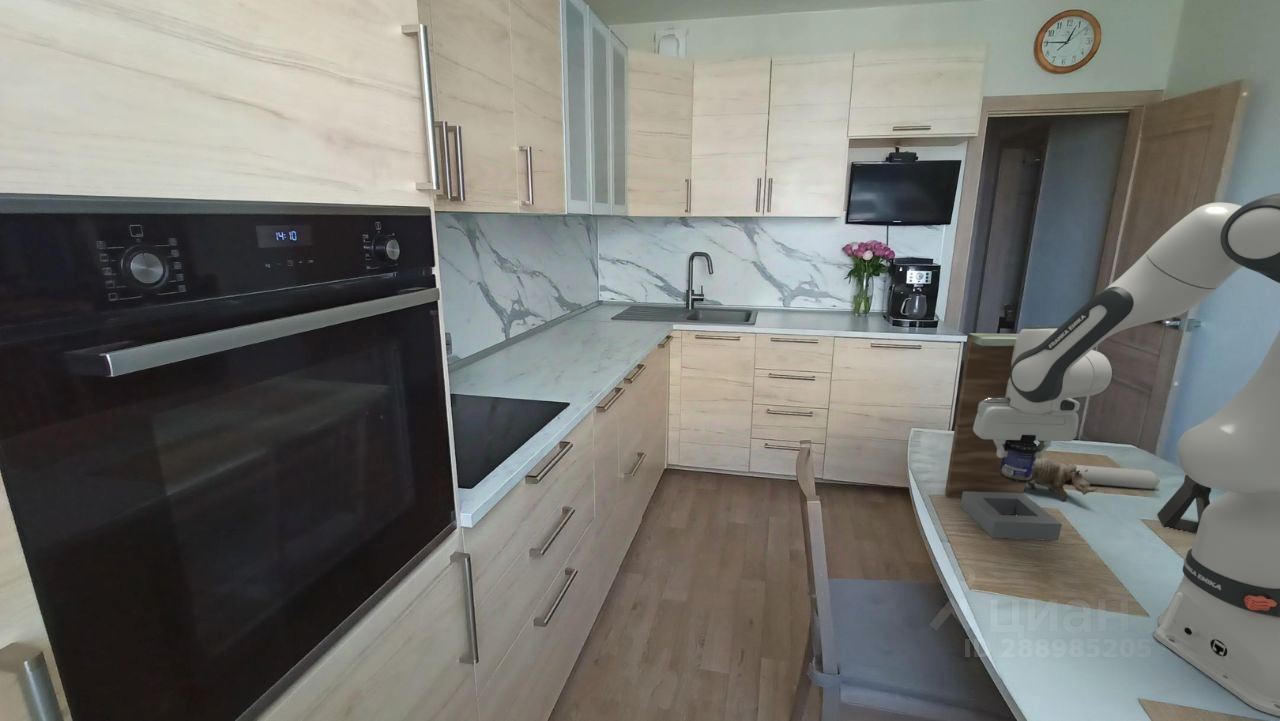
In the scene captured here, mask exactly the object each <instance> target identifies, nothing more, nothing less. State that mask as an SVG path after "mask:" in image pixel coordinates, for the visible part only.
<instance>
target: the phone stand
mask: <svg viewBox="0 0 1280 721" xmlns="http://www.w3.org/2000/svg"><path fill="white" fill-rule="evenodd" d="M1183 478H1184V481H1183V484H1182V485H1181V486H1180V487H1179V488H1178V489H1177V491H1176V492H1175V493H1174V494H1173V495H1172V496H1171V497H1170V499H1169V500H1168V501H1166V503H1165V504H1164V506H1163V507H1161V509H1160V510H1159V511H1158V512H1157V514H1156V515H1157V517H1158V519H1159V520H1160V523H1161V524H1162V525H1163V527H1164V528H1166V527H1169V528H1168V529H1171V528H1173V529H1172V530H1175V529H1177V531H1180V530H1183V531H1182V532H1185V531H1188V532H1187V533H1191V532H1194V533H1193V534H1195V533H1197V530H1198V526H1199V523H1200V519H1201V516H1202V513H1203V511H1204V510H1205V508H1206V507H1207V506H1208V505H1209V504H1210V503H1211V502H1210V495H1211V492H1212V488H1209V487H1206V486H1203V485H1201V484H1199V483H1197V482H1195V481H1194V480H1192V479H1191V478H1190V477H1189V476H1188V475H1187V474H1186V475H1184V477H1183ZM1194 501H1195V503H1196V504H1195V506H1196V512H1197V513H1196V514H1197V521H1192V520H1189V519H1183V516H1184V515H1185V513H1186V512H1187V511H1188V509H1189V508H1190V506H1192V503H1193V502H1194Z"/></svg>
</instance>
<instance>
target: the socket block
mask: <svg viewBox="0 0 1280 721" xmlns="http://www.w3.org/2000/svg"><path fill="white" fill-rule="evenodd" d="M960 508H962V510H963V511H964V512H965V513H966V514H967V515H968V516H969V517H970V518H972V519H973V521H974V522H975V523H976V524H977V525H979V527H980V528H981V529H982V530H983V531H984V532H985V533H986V534H987V535H988V536H989V537H990V539H1003V540H1004V538H1011V539H1010V540H1017V539H1016V538H1019V539H1018V540H1032V539H1040V540H1039V541H1041V539H1044V540H1043V541H1059V540H1060V535H1061V530H1062V525H1063V523H1061V522H1060V521H1059V520H1058V519H1056V518H1055V516H1052V515H1051V514H1050V513H1049V512H1048V511H1046V510H1045V509H1044V508H1043V507H1041V506H1040V505H1038V503H1036V502H1035V501H1034V500H1033V499H1031V498H1030V497H1029V496H1028V495H1026V494H1025V493H1024V492H1023V493H1001V492H969V491H963V494H962V498H961V500H960ZM1016 515H1017V516H1016Z"/></svg>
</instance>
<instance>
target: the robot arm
mask: <svg viewBox="0 0 1280 721" xmlns="http://www.w3.org/2000/svg"><path fill="white" fill-rule="evenodd" d="M1243 267H1244V268H1245V269H1248V270H1251V271H1253V272H1256V273H1258V274H1260V275H1262V276H1265V277H1267V278H1269V279H1270V280H1272V281H1274V282H1276V283H1277V284H1280V192H1278V193H1272V194H1269V195H1264V196H1263V197H1259V198H1256V199H1254V200H1252V201H1249V202H1248V203H1246V204H1244V205H1240V204H1237V203H1231V202H1221V201H1219V202H1210V203H1206V204H1203V205H1201V206H1198V207H1197V208H1195V209H1194V210H1192V211H1191V212H1190V213H1189V214H1187V215H1186V216H1184V217H1183V218H1181V219H1180V220H1179V221H1178V222H1176V224H1174V225H1173V226H1172V227H1170V228H1169V230H1167V231H1166V232H1165V233H1164V234H1163V235H1162V236H1160V238H1158V239H1157V240H1156V241H1155V242H1154V244H1153V245H1151V247H1150V248H1149V249H1148V250H1147V251H1145V253H1144V254H1143V255H1142V256H1141V257H1139V259H1138V260H1137V261H1135V263H1134V264H1132V266H1130V267H1129V269H1127V270H1126V271H1125V272H1124V273H1123V274H1122V275H1121V276H1120V277H1118V278H1117V279H1116V280H1115V281H1114V282H1112V283H1111V284H1110V285H1108V286H1107V287H1106V288H1104V289H1103V290H1102V291H1100V292H1099V293H1098V294H1096V295H1095V296H1094V297H1092V298H1091V299H1090V300H1089V301H1087V302H1086V303H1085V304H1083V305H1082V306H1081V307H1080V308H1079V309H1078V310H1076V311H1075V312H1074V314H1072V315H1071V316H1070V317H1069V318H1067V320H1066V321H1064V322H1063V323H1062V324H1061V325H1060V326H1058V325H1035V326H1034V325H1031V326H1030V325H1029V326H1026V327H1024V328H1022V329H1021V330H1020V332H1019V333H1018V334H1019V335H1018V337H1017V340H1016V343H1015V346H1014V350H1013V355H1012V361H1011V366H1012V368H1011V373H1010V378H1009V380H1008V384H1007V390H1006V396H1005V398H992V397H989V398H986V399H985V400H983V401H981V402H980V403H979V405H978V413H977V416H976V419H975V422H974V426H973V431H974V433H975V434H976V435H977V436H978V437H980V438H981V439H993V441H994V443H995V445H996V447H997V453H996V454H997V456H998V457H999V458H1007V457H1008V452H1009V451H1007V450H1006V449H1005V448H1003V445H1002V444H1005V440H1020V439H1021V436H1022V435H1036V440H1035V441H1034V442H1036V441H1037V442H1038V444H1037V447H1038V451H1037V455H1036V459H1042V458H1043V456H1044V452H1046V451H1047V449H1048V448H1049V447H1051V445H1052V444H1051V443H1052V442H1072V441H1074V439H1075V438H1077V434H1078V427H1079V420H1080V419H1079V415H1078V413H1077V412H1078V411H1079V409H1080V406H1081V404H1080V402H1079V401H1077V400H1076V399H1074V398H1083V397H1091V396H1094V395H1095V396H1096V395H1100V394H1102V393H1104V392H1105V391H1106V390H1108V388H1109V387H1110V385H1111V383H1112V380H1113V377H1114V370H1113V366H1112V364H1111V362H1110V360H1109V358H1108V357H1107V356H1106V355H1105V354H1103V353H1102V352H1100V351H1098V350H1096V349H1095V350H1094V348H1096V347H1097V346H1098V345H1099V344H1101V343H1102V342H1103V341H1104V340H1105V339H1107V338H1109V337H1111V336H1113V335H1114V334H1117V333H1119V332H1121V331H1124V330H1126V329H1130V328H1133V327H1137V326H1141V325H1144V324H1149V323H1154V322H1158V321H1163V320H1167V319H1171V318H1175V317H1178V316H1181V315H1182V314H1184V313H1186V312H1188V311H1190V310H1192V309H1193V308H1195V307H1196V306H1197V305H1199V304H1201V303H1202V302H1203V301H1205V300H1206V299H1207V298H1208V297H1210V296H1211V295H1212V294H1213V293H1214V292H1215V291H1217V290H1218V288H1220V287H1221V286H1222V285H1223V284H1224V283H1225V282H1226V281H1227V280H1229V278H1230V277H1232V276H1233V275H1234V274H1235V273H1236V272H1238V270H1240V269H1241V268H1243ZM1277 332H1278V333H1277V335H1276V337H1275V338H1274V340H1273V342H1272V343H1271V345H1270V348H1269V350H1268V351H1267V353H1266V355H1265V357H1264V358H1263V359H1262V360H1263V361H1262V362H1261V364H1260V365H1259V367H1258V368H1257V370H1256V371H1255V373H1254V374H1253V375H1252V376H1251V378H1250V379H1249V380H1248V381H1247V382H1246V383H1245V384H1244V385H1243V386H1242V387H1241V388H1240V389H1239V391H1237V393H1235V395H1234V396H1233V397H1231V398H1230V399H1229V400H1228V401H1227V403H1225V404H1224V405H1223V406H1222V407H1221V408H1220V409H1219V410H1218V411H1216V412H1215V413H1214V414H1213V415H1211V416H1210V417H1209V418H1207V419H1206V420H1204V421H1202V422H1201V423H1199V424H1196V425H1195V426H1193V427H1191V428H1189V429H1187V430H1186V431H1185V432H1184V433H1183V434H1182V435H1181V436H1180V438H1179V440H1178V442H1177V446H1176V457H1177V461H1178V463H1179V465H1180V467H1181V469H1182V470H1183V472H1184V473H1185V474H1186V475H1188V476H1189V477H1190V478H1191V479H1192V480H1194V481H1195V482H1197V483H1199V484H1201V485H1203V486H1206V487H1209V488H1211V489H1215V490H1220V491H1225V493H1223V494H1222V495H1221V496H1220V497H1218V498H1217V499H1215V500H1214V501H1212V502H1210V504H1209V505H1208V506H1207V507H1206V508H1205V510H1204V511H1203V513H1202V516H1201V519H1200V523H1199V526H1198V530H1197V533H1196V535H1195V537H1194V542H1193V546H1192V548H1190V549H1189V550H1188V551H1187V553H1186V556H1185V558H1184V559H1183V566H1182V573H1183V576H1182V579H1181V581H1180V583H1179V585H1178V587H1177V590H1176V591H1175V593H1174V594H1173V597H1172V599H1171V601H1170V603H1169V604H1168V606H1167V607H1166V609H1165V610H1164V611H1163V613H1161V614H1160V616H1159V617H1158V620H1157V623H1158V627H1157V628H1156V629H1155V631H1154V634H1153V636H1154V638H1155V640H1157V641H1159V642H1160V643H1161V644H1163V645H1164V646H1165V647H1167V648H1168V649H1170V650H1171V651H1173V652H1174V653H1175V654H1177V655H1178V656H1179V657H1181V658H1182V659H1183V660H1185V661H1186V662H1188V663H1189V664H1191V665H1192V666H1193V667H1195V668H1196V669H1198V670H1199V671H1201V672H1202V673H1203V674H1205V675H1206V676H1207V677H1209V678H1211V680H1213V681H1215V682H1216V683H1217V684H1219V685H1220V686H1222V687H1223V688H1224V689H1226V690H1227V691H1229V692H1230V693H1231V694H1233V695H1235V697H1237V698H1238V699H1240V700H1241V701H1243V702H1244V703H1246V704H1247V705H1249V706H1250V707H1252V708H1254V709H1256V710H1258V711H1261V712H1263V713H1266V714H1269V715H1272V716H1275V717H1276V716H1277V717H1280V330H1279V331H1277ZM985 401H986V402H985Z"/></svg>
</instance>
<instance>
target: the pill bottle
mask: <svg viewBox="0 0 1280 721" xmlns="http://www.w3.org/2000/svg"><path fill="white" fill-rule="evenodd" d="M1035 440H1036V435H1022V436H1021V439H1020V440H1006V441H1005V446H1004V448H1005V449H1006V450H1007V451H1009V452H1008V457H1007V458H1002V461H1001V466H1000V471H999V472H1000V475H1001V476H1002V477H1004V478H1006V479H1008V480H1010V481H1014V482H1020V483H1026V484H1027V482H1030V481H1031V479H1032V474H1033V469H1034V465H1035V460H1036V455H1037V451H1038V447H1037V446H1038V444H1036V443H1035V442H1036V441H1035Z"/></svg>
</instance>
